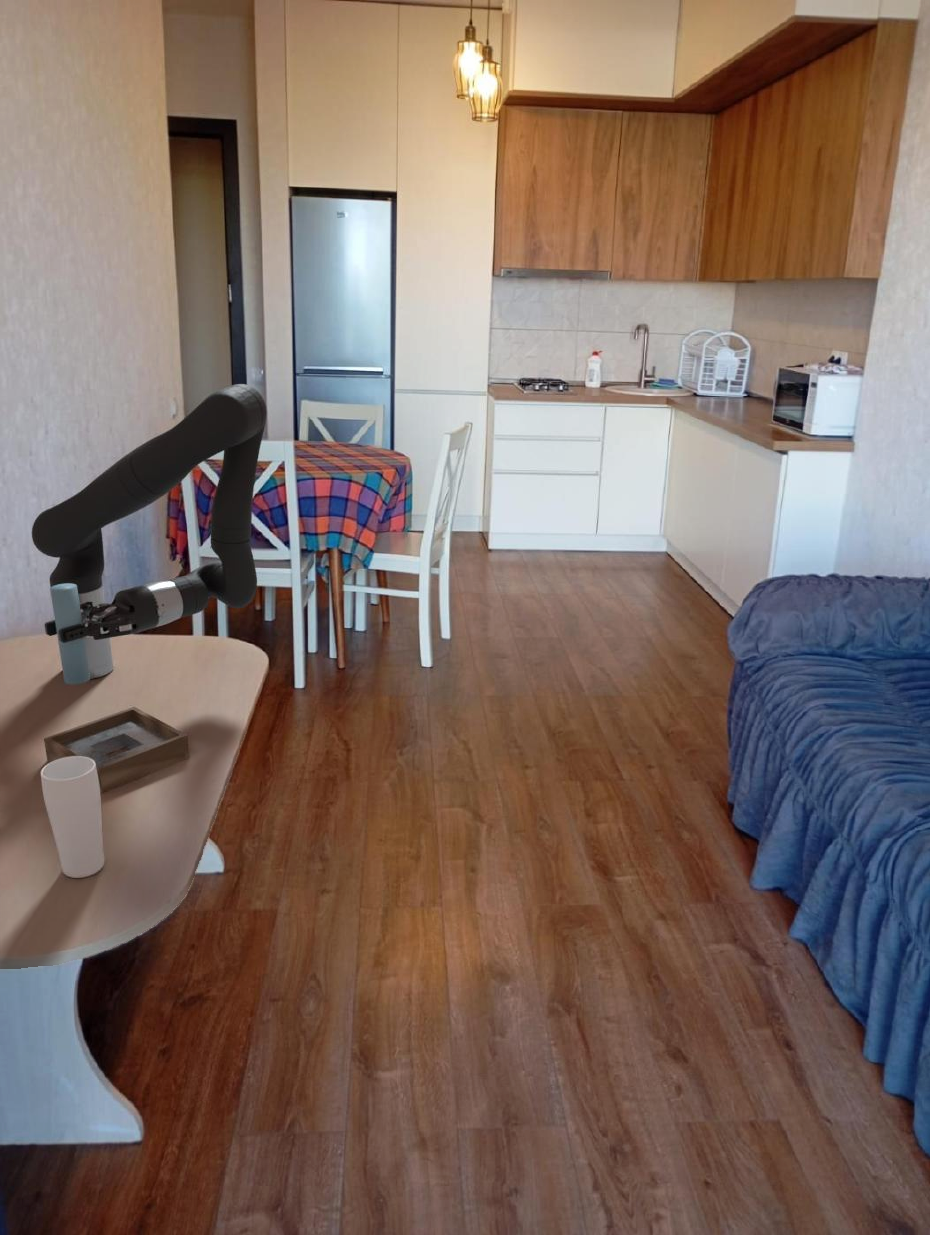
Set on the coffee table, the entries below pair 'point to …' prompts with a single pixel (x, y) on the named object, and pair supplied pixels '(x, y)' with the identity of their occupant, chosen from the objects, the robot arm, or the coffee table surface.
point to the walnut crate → (133, 763)
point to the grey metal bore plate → (115, 741)
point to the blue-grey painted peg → (66, 616)
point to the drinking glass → (75, 813)
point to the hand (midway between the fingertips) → (53, 633)
